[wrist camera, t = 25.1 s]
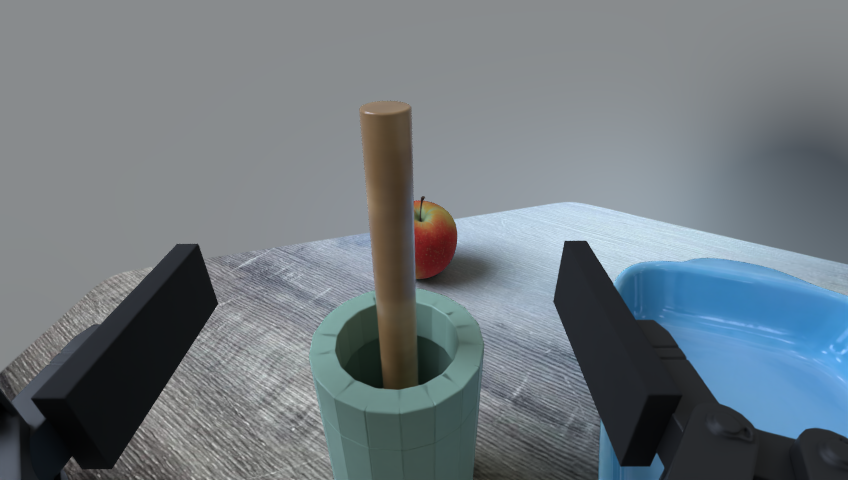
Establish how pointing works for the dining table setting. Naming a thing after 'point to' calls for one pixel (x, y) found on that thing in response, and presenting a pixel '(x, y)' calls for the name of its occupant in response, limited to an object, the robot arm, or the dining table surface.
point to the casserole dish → (746, 344)
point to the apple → (432, 238)
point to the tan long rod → (392, 235)
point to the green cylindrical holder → (399, 393)
